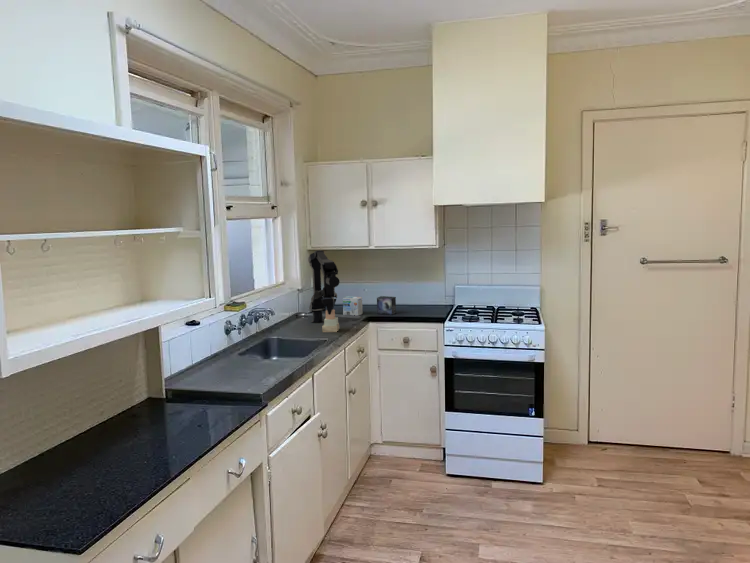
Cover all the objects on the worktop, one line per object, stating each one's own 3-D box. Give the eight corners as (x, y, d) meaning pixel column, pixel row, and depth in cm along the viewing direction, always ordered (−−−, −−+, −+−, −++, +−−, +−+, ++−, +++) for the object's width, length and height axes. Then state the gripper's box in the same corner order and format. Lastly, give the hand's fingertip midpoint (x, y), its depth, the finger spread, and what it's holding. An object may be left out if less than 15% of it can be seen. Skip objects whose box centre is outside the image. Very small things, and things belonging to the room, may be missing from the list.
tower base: (324, 329, 311) (324, 323, 310) (339, 329, 310) (339, 323, 310) (322, 332, 303) (322, 326, 303) (337, 332, 302) (337, 326, 302)
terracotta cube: (326, 317, 308) (326, 309, 307) (335, 317, 308) (334, 309, 307) (325, 319, 304) (325, 311, 303) (334, 319, 303) (333, 311, 303)
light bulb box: (342, 315, 349) (342, 298, 348) (347, 313, 356) (346, 296, 354) (358, 315, 345) (358, 298, 344) (362, 313, 352) (362, 296, 350)
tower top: (326, 323, 310) (326, 317, 309) (337, 323, 309) (337, 317, 309) (324, 326, 303) (324, 319, 303) (336, 326, 303) (336, 319, 302)
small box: (376, 314, 349) (376, 297, 348) (381, 312, 355) (380, 295, 353) (391, 315, 344) (391, 298, 343) (396, 313, 350) (396, 296, 348)
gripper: (316, 282, 313) (318, 310, 315) (311, 287, 294) (312, 317, 296) (336, 282, 312) (337, 310, 314) (332, 287, 294) (333, 316, 296)
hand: (330, 313), depth 305 cm, fingers open, 6 cm apart
